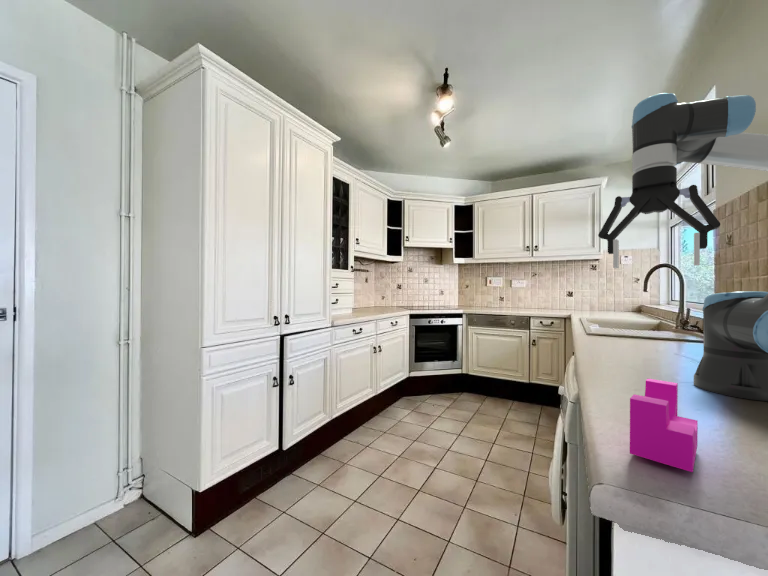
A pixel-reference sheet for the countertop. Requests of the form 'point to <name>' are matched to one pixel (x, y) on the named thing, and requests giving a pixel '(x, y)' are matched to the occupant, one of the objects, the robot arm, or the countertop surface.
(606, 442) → the countertop surface
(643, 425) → the toy block
